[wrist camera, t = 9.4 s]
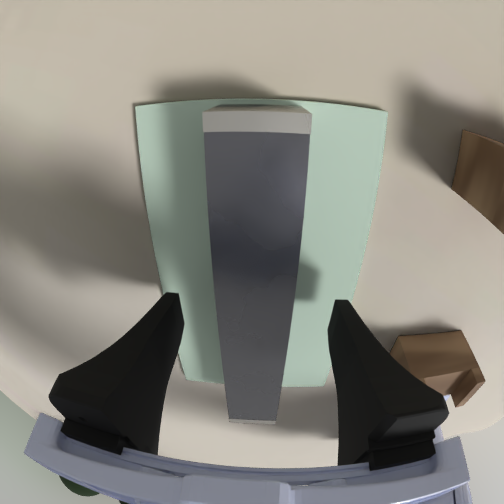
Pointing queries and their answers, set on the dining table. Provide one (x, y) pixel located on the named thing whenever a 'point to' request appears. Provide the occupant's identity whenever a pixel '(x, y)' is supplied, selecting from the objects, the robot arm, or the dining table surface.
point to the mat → (313, 234)
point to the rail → (255, 244)
